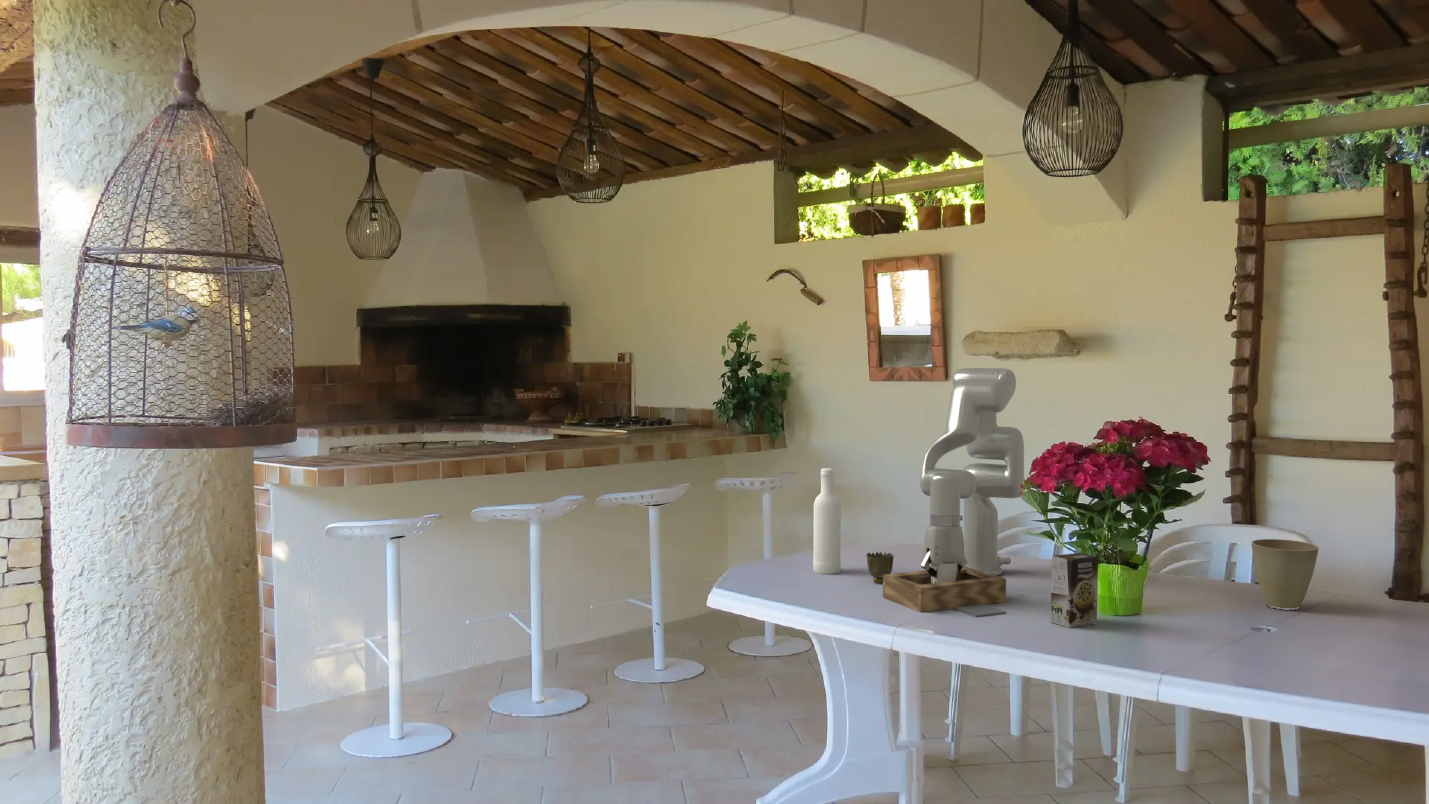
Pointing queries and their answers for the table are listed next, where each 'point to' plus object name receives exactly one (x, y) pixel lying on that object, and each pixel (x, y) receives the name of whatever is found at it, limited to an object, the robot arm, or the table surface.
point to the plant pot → (1284, 570)
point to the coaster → (979, 610)
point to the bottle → (827, 527)
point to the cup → (879, 565)
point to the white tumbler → (945, 573)
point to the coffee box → (1074, 590)
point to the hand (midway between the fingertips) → (944, 591)
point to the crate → (943, 590)
